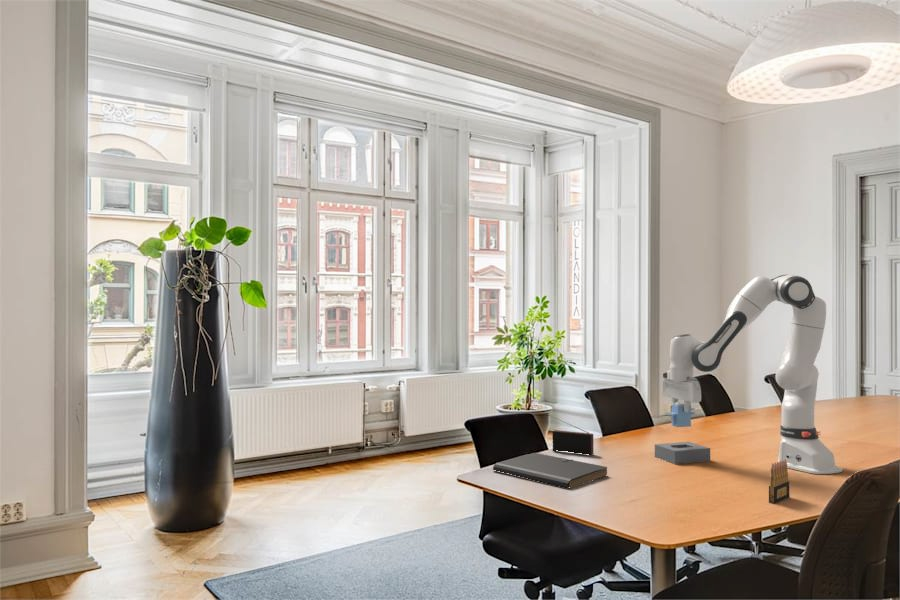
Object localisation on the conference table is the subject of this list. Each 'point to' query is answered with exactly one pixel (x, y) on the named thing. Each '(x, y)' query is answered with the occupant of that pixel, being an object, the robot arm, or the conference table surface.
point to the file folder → (551, 469)
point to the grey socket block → (682, 452)
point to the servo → (680, 415)
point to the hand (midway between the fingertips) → (681, 410)
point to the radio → (573, 441)
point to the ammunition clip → (779, 482)
